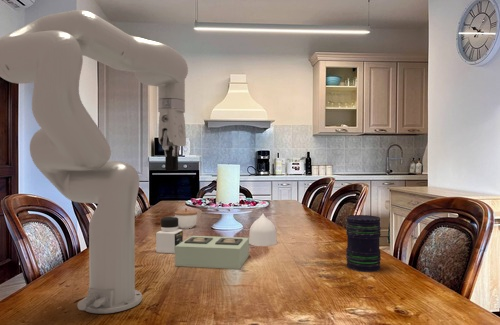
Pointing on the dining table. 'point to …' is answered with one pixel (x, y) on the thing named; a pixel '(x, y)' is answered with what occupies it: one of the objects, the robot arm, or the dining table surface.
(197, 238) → the peg left
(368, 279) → the dining table surface
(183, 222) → the lidded jar
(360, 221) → the storage jar
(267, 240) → the teardrop
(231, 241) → the peg right
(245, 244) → the sage block
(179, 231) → the medicine bottle
